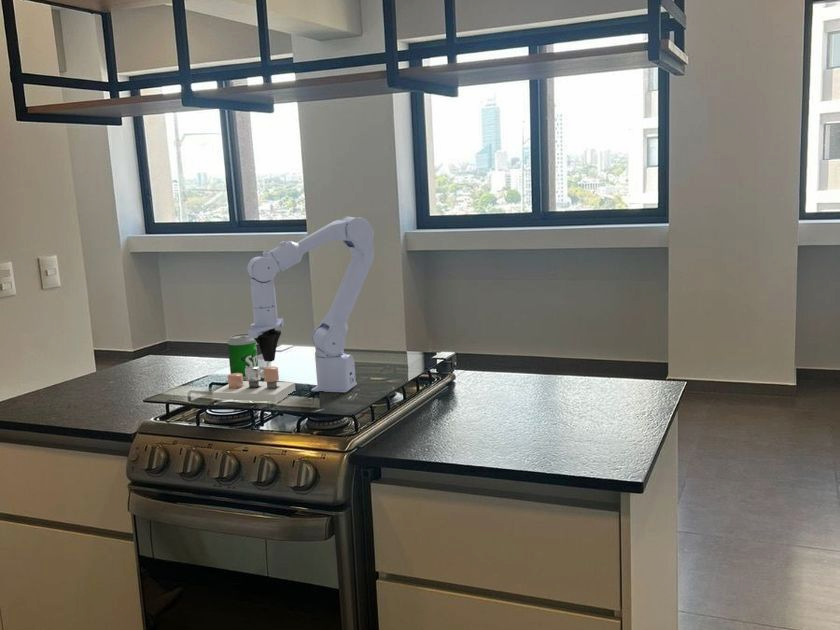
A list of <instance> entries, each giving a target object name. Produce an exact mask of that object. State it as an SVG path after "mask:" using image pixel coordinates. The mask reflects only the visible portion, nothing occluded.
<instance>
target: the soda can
mask: <svg viewBox="0 0 840 630" xmlns="http://www.w3.org/2000/svg"><path fill="white" fill-rule="evenodd" d="M227 350H228V351H227V352H228V360H229V370H230V373H229V374H233V373H242V375H243V381H244V380H246V375H245V368H246V367H250V366H259V360H258V351H257V350H258V349H257V342H256V341H255V339H254V338H249V335H248V333H239V334H234V335H231V336H230V337H229V338H228V339H227Z"/></svg>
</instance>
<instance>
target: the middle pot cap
mask: <svg viewBox="0 0 840 630" xmlns="http://www.w3.org/2000/svg"><path fill="white" fill-rule="evenodd" d="M245 375H246V381H249V388H250V389H254V388H258V387H259V381H260V380H261V379H262V378H261V377H262V376H261V367H260V366H259V365H258V366H250V367H246V368H245Z"/></svg>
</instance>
